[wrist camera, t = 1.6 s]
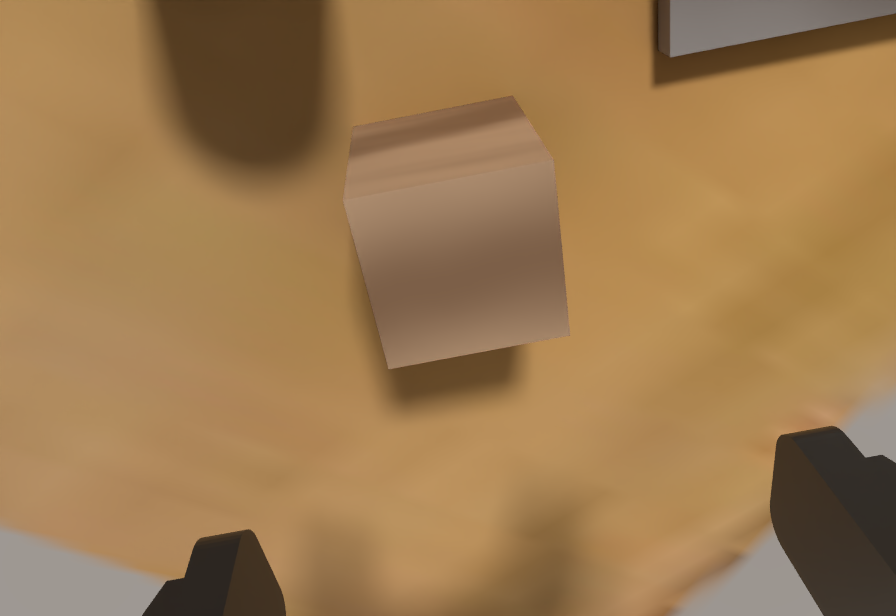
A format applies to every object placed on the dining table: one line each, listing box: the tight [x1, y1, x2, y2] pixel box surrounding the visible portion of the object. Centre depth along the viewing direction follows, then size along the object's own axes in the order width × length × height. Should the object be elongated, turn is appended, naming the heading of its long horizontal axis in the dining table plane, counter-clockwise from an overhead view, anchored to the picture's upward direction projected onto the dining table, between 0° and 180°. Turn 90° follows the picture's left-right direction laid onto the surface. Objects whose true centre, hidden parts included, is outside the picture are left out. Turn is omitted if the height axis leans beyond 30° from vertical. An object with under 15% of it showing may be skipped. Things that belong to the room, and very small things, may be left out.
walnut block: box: [343, 96, 570, 369], centre depth 20 cm, size 5×5×6 cm
